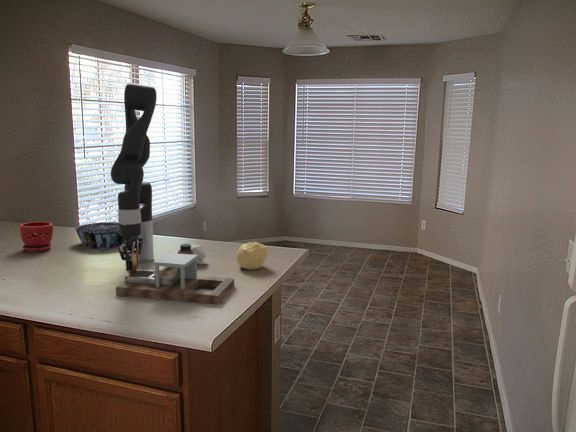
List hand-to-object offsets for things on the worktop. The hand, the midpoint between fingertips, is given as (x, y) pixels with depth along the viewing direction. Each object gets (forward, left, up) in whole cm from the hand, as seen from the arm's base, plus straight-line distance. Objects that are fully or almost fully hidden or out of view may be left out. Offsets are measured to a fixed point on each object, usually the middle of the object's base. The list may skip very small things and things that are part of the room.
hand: (132, 269), depth 168 cm
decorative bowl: (-43, +54, -7) cm, 70 cm away
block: (+13, 0, -4) cm, 13 cm away
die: (+11, +33, -7) cm, 35 cm away
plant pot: (-66, +37, -7) cm, 76 cm away
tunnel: (+17, 0, -4) cm, 17 cm away
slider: (+8, 0, -3) cm, 8 cm away
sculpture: (+35, +33, -7) cm, 48 cm away
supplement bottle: (+12, +20, -7) cm, 24 cm away
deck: (+17, 0, -7) cm, 18 cm away
